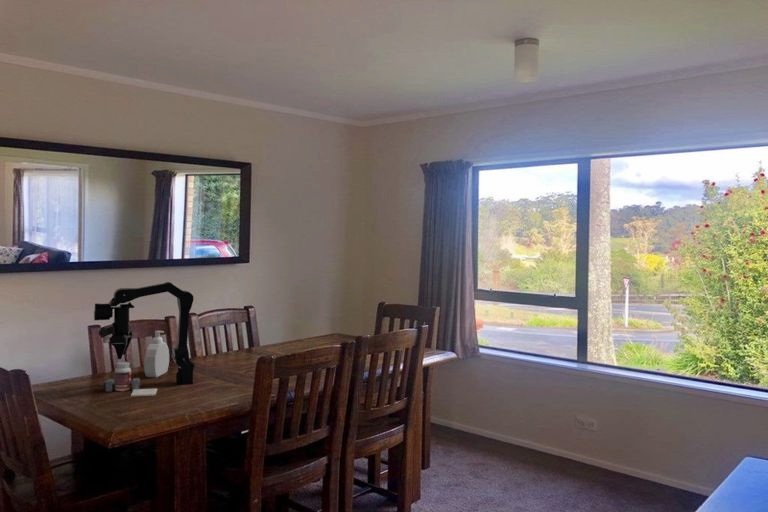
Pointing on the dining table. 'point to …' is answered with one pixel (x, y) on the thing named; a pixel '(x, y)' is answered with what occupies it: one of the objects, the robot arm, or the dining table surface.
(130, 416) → the dining table surface
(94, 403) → the dining table surface
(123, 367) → the pill bottle
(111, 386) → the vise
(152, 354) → the soap bottle
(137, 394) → the coaster
